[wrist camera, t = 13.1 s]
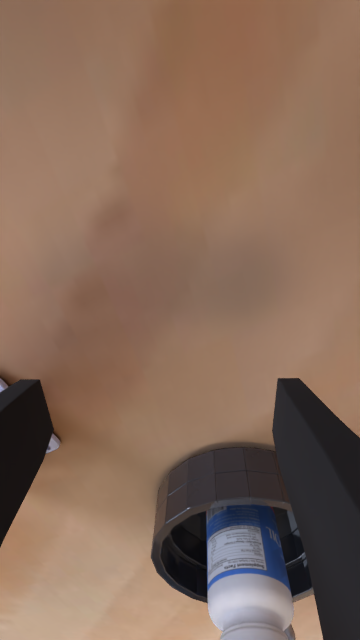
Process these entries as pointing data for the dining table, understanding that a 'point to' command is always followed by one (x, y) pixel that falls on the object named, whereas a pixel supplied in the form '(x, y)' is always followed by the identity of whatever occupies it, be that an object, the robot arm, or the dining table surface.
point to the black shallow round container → (215, 491)
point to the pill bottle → (247, 574)
